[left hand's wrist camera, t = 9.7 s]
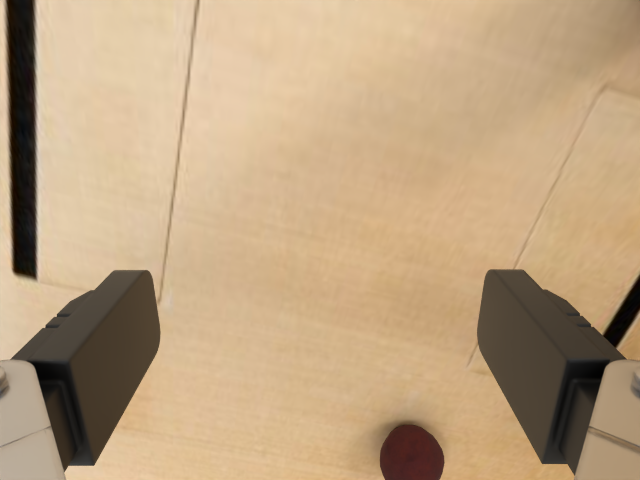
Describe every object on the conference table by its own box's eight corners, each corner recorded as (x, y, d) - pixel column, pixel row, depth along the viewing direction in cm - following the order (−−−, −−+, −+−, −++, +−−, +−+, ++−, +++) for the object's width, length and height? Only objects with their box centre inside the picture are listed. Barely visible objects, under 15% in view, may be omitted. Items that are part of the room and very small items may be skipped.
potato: (382, 464, 57) (390, 516, 51) (370, 417, 55) (377, 466, 48) (440, 454, 57) (456, 505, 50) (431, 406, 54) (447, 454, 48)
